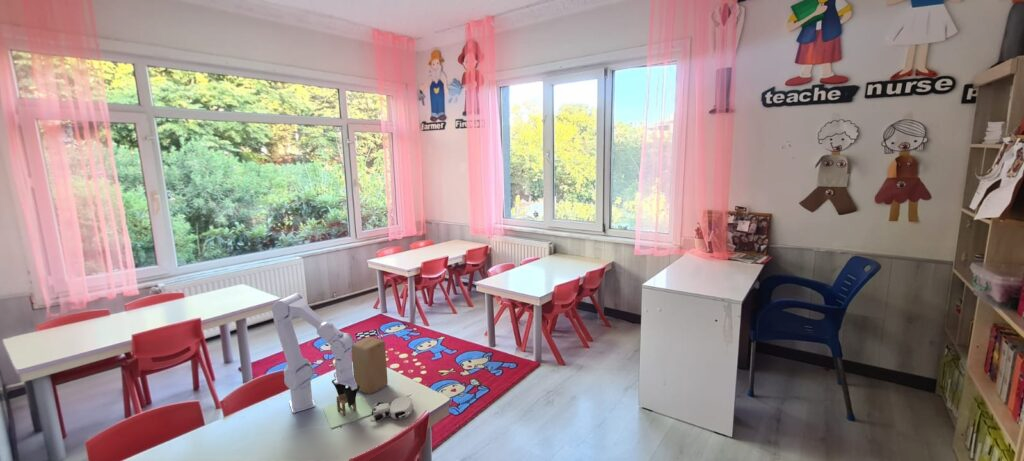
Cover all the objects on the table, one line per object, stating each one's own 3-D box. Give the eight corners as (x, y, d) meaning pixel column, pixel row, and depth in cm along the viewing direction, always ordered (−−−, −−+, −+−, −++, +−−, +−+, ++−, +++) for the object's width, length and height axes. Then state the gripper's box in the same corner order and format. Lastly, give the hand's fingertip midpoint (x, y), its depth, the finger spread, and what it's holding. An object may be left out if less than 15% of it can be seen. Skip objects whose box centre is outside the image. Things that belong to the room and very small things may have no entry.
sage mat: (322, 408, 162) (322, 407, 162) (362, 396, 170) (362, 395, 170) (331, 428, 149) (331, 427, 149) (373, 414, 158) (373, 413, 158)
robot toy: (370, 429, 150) (412, 421, 153) (368, 418, 150) (411, 410, 152) (374, 409, 162) (414, 402, 165) (373, 399, 162) (412, 392, 164)
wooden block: (388, 384, 178) (385, 340, 175) (369, 396, 170) (366, 349, 167) (372, 378, 184) (369, 335, 180) (353, 389, 175) (350, 344, 172)
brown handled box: (337, 411, 159) (336, 396, 158) (350, 405, 163) (349, 391, 162) (343, 416, 156) (342, 401, 155) (356, 410, 160) (355, 395, 159)
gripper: (324, 364, 159) (327, 397, 161) (342, 377, 149) (345, 412, 151) (342, 358, 164) (345, 390, 166) (361, 370, 154) (364, 404, 156)
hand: (346, 400), depth 159 cm, fingers open, 7 cm apart
